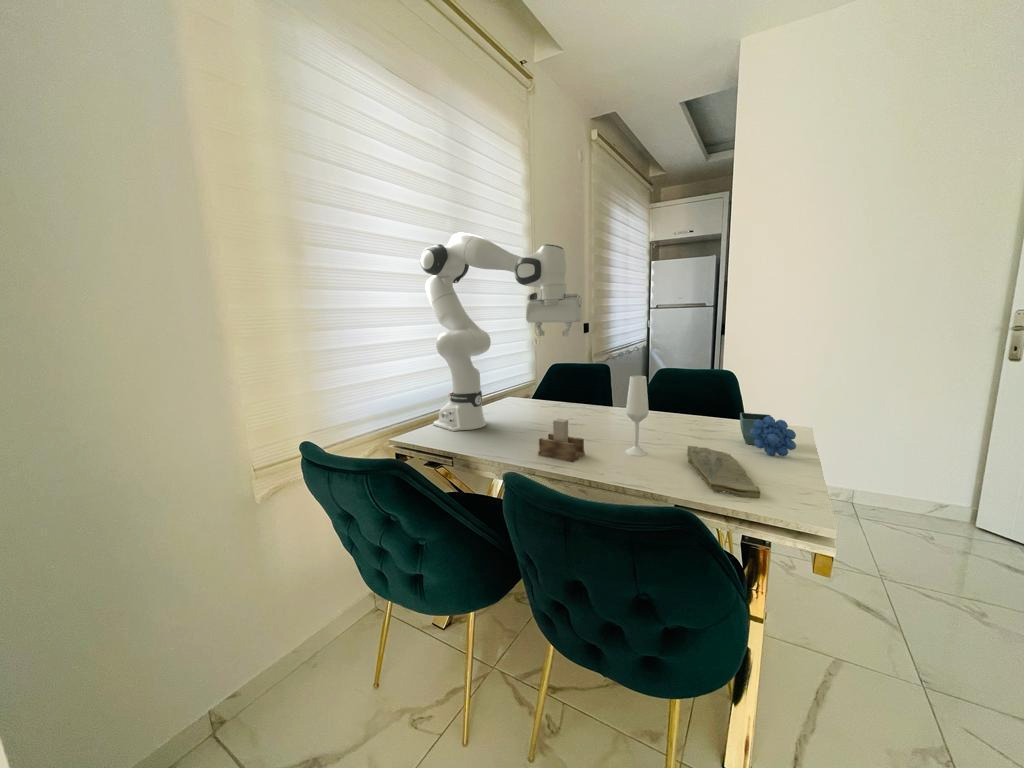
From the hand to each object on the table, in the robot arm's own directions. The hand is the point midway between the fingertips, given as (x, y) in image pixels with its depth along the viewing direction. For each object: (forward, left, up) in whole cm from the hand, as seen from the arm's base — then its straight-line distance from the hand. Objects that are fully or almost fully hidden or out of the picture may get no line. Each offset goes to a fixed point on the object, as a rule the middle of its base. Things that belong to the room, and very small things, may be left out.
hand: (553, 336), depth 135 cm
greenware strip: (+10, -15, -35) cm, 39 cm away
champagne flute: (+29, -1, -37) cm, 47 cm away
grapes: (+64, +15, -37) cm, 76 cm away
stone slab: (+53, -6, -37) cm, 65 cm away
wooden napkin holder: (+10, -15, -36) cm, 40 cm away
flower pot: (+59, +27, -37) cm, 75 cm away
